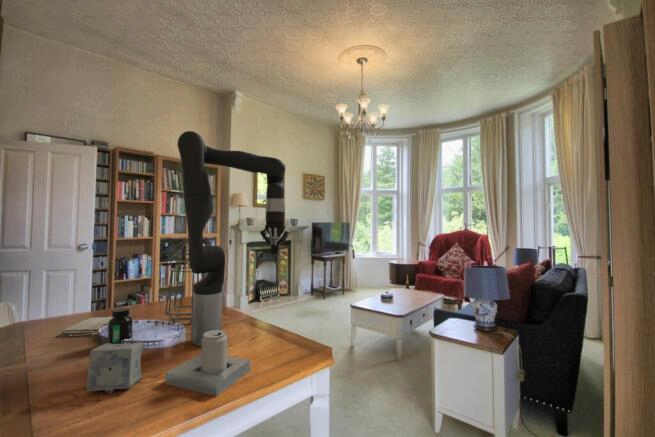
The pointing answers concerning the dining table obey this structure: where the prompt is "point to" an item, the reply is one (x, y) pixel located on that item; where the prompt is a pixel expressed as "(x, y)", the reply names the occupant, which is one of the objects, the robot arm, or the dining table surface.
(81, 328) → the washcloth
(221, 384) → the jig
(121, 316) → the supplement bottle
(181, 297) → the geometric lantern
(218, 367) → the beverage can
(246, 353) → the dining table surface
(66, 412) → the dining table surface
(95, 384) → the incense holder
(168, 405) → the dining table surface
